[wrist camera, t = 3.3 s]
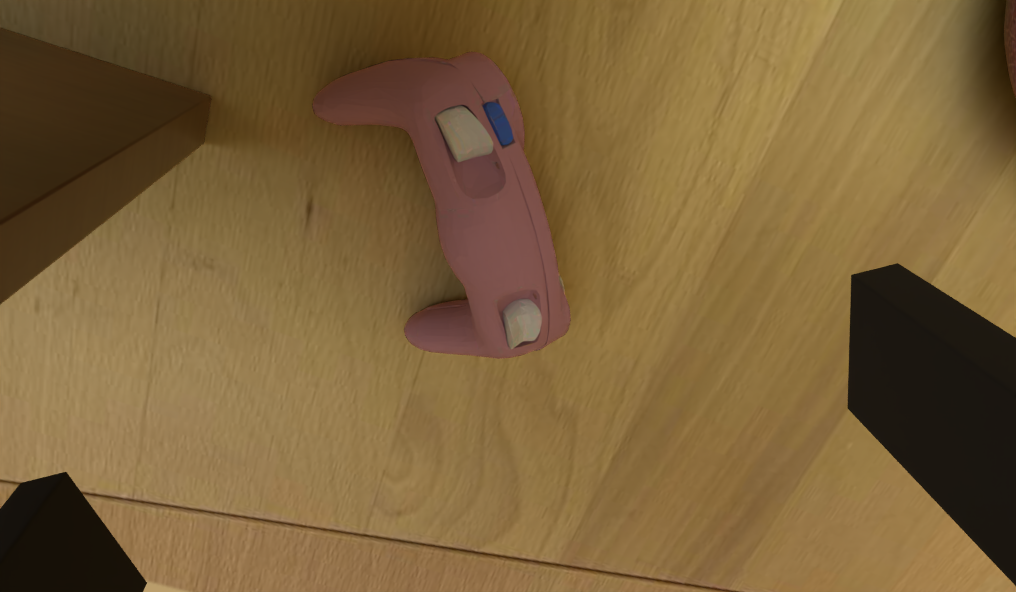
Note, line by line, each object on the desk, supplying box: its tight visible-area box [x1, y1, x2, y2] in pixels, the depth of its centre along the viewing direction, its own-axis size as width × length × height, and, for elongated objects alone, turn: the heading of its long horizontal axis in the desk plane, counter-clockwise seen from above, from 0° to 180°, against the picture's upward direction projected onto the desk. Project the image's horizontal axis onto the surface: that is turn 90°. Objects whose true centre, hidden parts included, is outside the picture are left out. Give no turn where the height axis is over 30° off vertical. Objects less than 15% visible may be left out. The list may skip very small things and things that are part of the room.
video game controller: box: [312, 52, 571, 359], centre depth 20 cm, size 10×5×7 cm, turn 15°
